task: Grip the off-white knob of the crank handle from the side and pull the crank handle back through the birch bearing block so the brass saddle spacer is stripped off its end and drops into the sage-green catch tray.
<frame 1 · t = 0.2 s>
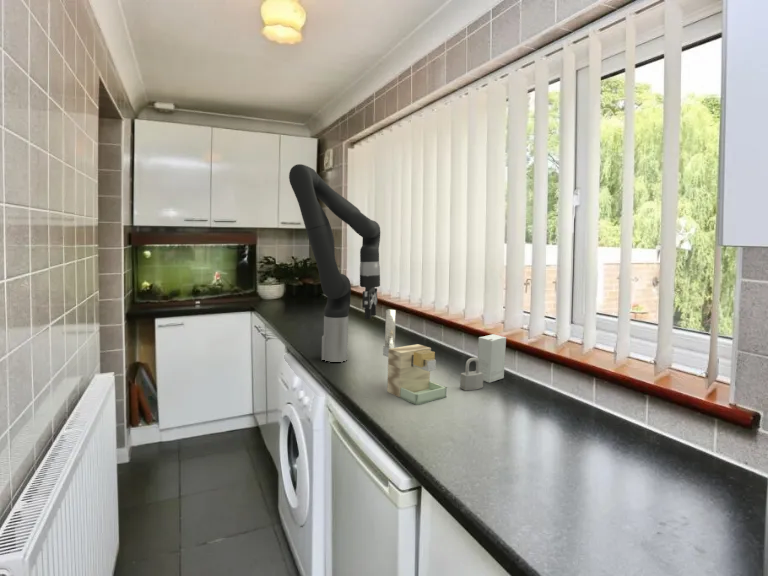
hand: (370, 317, 168), 18 cm above the worktop, tool pointing down, fingers open, 8 cm apart
padlock: (471, 388, 144), on the worktop
spacer: (423, 364, 133), point 10 cm above the worktop, touching crank handle
crank handle: (408, 338, 139), point 16 cm above the worktop, slide at 0.0 cm, touching spacer
skincare box: (490, 379, 155), on the worktop
catch tray: (423, 397, 134), on the worktop
bearing block: (408, 390, 140), on the worktop
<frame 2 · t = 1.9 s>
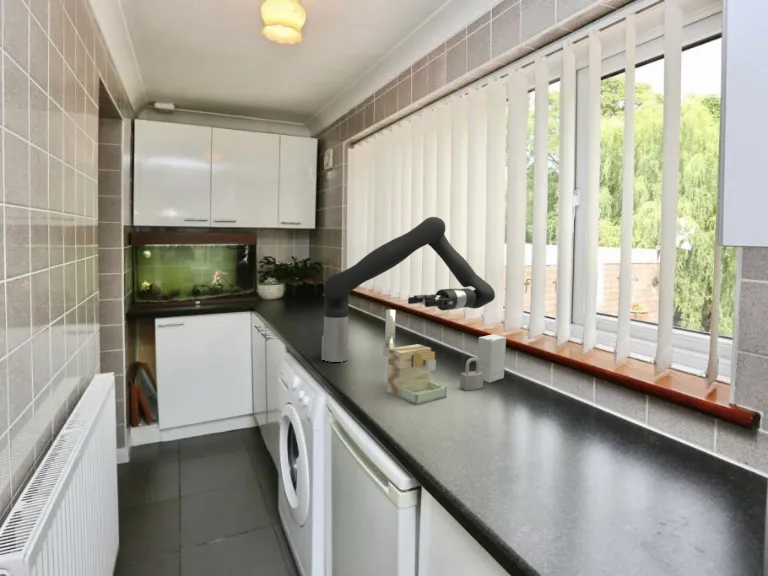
hand: (416, 302, 152), 26 cm above the worktop, tool horizontal, fingers open, 8 cm apart
nothing on the worktop moved.
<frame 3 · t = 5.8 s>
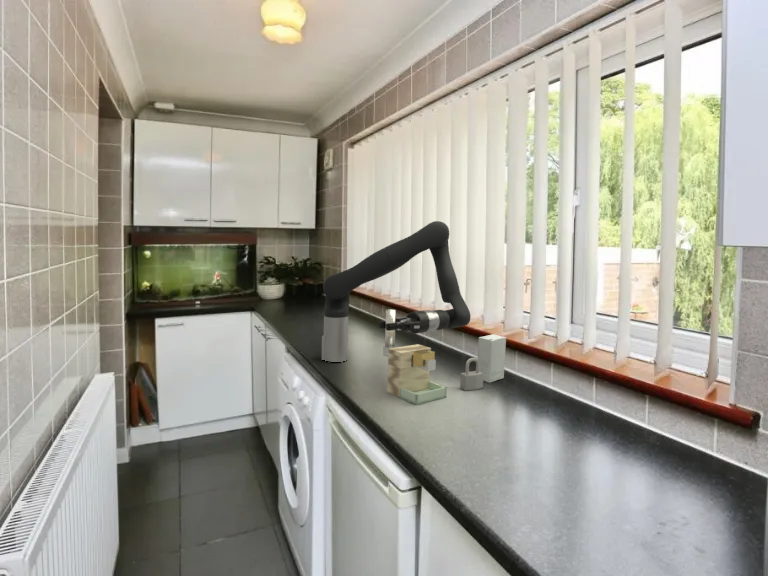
hand: (383, 326, 144), 19 cm above the worktop, tool horizontal, fingers closed on crank handle, 3 cm apart
crank handle: (408, 338, 139), point 16 cm above the worktop, slide at 0.0 cm, touching gripper, spacer
everything else where it was.
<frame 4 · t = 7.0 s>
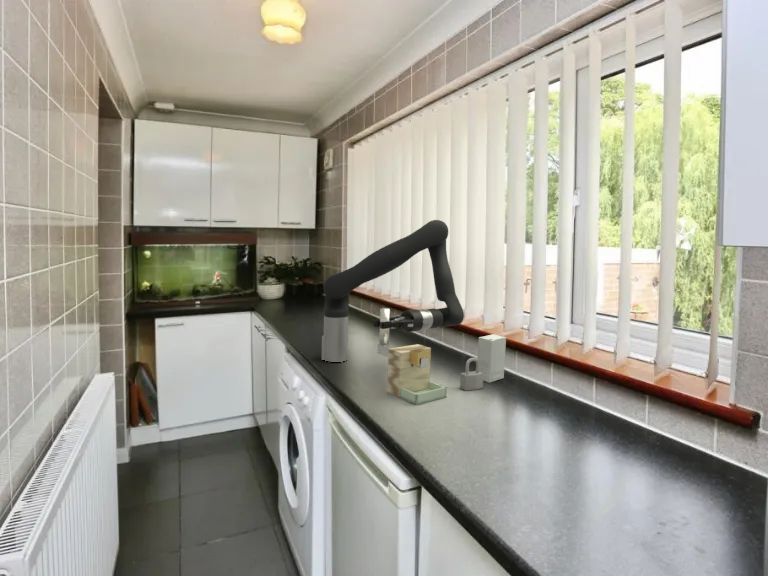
hand: (377, 324, 146), 19 cm above the worktop, tool horizontal, fingers closed on crank handle, 3 cm apart
spacer: (420, 363, 135), point 10 cm above the worktop
crank handle: (402, 336, 141), point 16 cm above the worktop, slide at 3.1 cm, touching gripper
everything else where it was.
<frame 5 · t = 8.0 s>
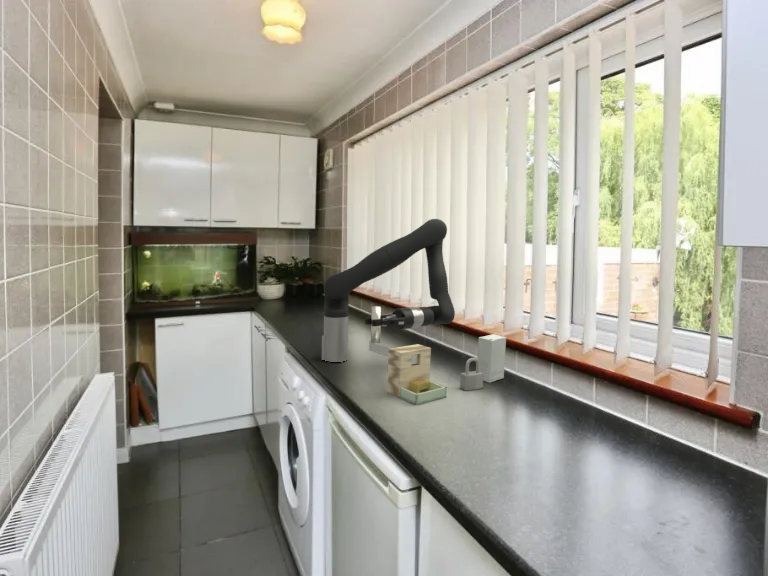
hand: (369, 322, 150), 19 cm above the worktop, tool horizontal, fingers closed on crank handle, 3 cm apart
spacer: (419, 393, 135), point 1 cm above the worktop, touching catch tray
crank handle: (392, 333, 145), point 16 cm above the worktop, slide at 7.9 cm, touching gripper
everything else where it was.
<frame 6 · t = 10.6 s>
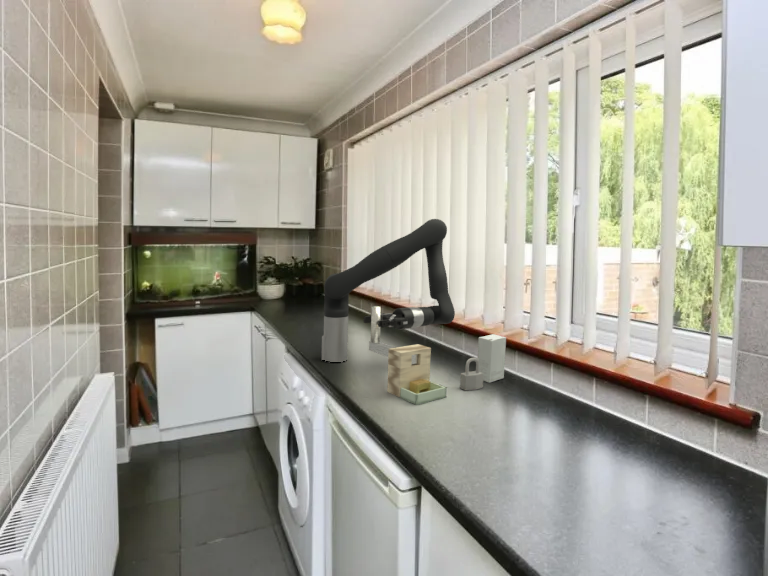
hand: (371, 321, 151), 19 cm above the worktop, tool horizontal, fingers open, 8 cm apart
crank handle: (392, 333, 145), point 16 cm above the worktop, slide at 8.0 cm
everything else where it was.
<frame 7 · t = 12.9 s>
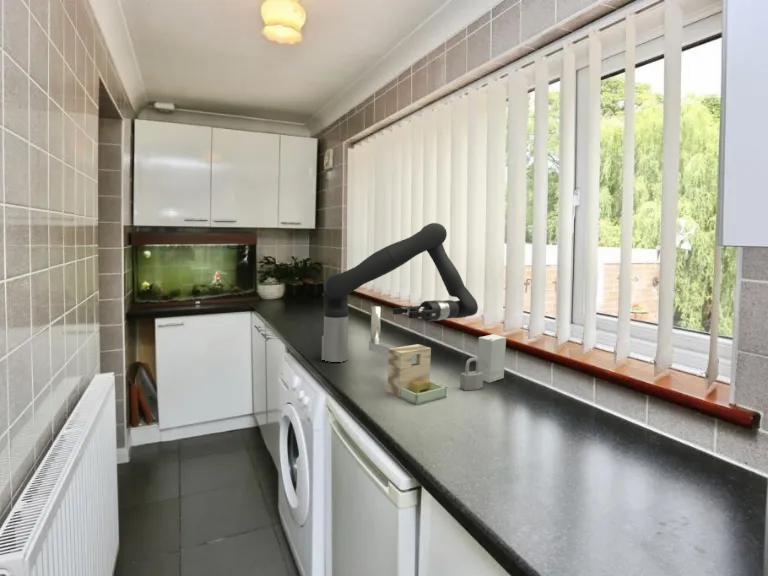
hand: (401, 313, 159), 21 cm above the worktop, tool horizontal, fingers open, 8 cm apart
nothing on the worktop moved.
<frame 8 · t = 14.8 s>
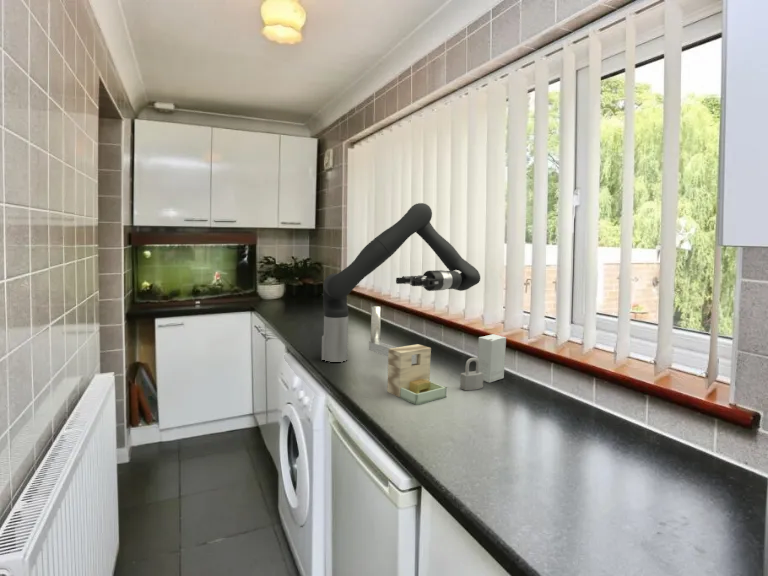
hand: (404, 281, 159), 32 cm above the worktop, tool horizontal, fingers open, 8 cm apart
nothing on the worktop moved.
at the end: crank handle slide at 8.0 cm; spacer point 0.6 cm above the worktop; spacer 1.7 cm from the catch tray (horizontally) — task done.
